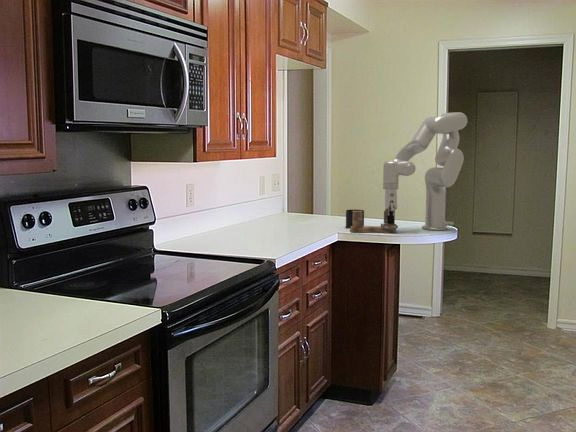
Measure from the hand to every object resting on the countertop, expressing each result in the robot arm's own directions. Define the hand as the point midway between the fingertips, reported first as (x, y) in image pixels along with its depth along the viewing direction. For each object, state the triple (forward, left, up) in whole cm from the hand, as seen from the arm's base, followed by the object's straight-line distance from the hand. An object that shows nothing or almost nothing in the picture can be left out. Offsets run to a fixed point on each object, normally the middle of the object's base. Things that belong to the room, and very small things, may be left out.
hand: (389, 222), depth 310 cm
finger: (0, 0, -1) cm, 1 cm away
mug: (+15, -16, -5) cm, 22 cm away
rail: (+8, 0, -5) cm, 10 cm away
